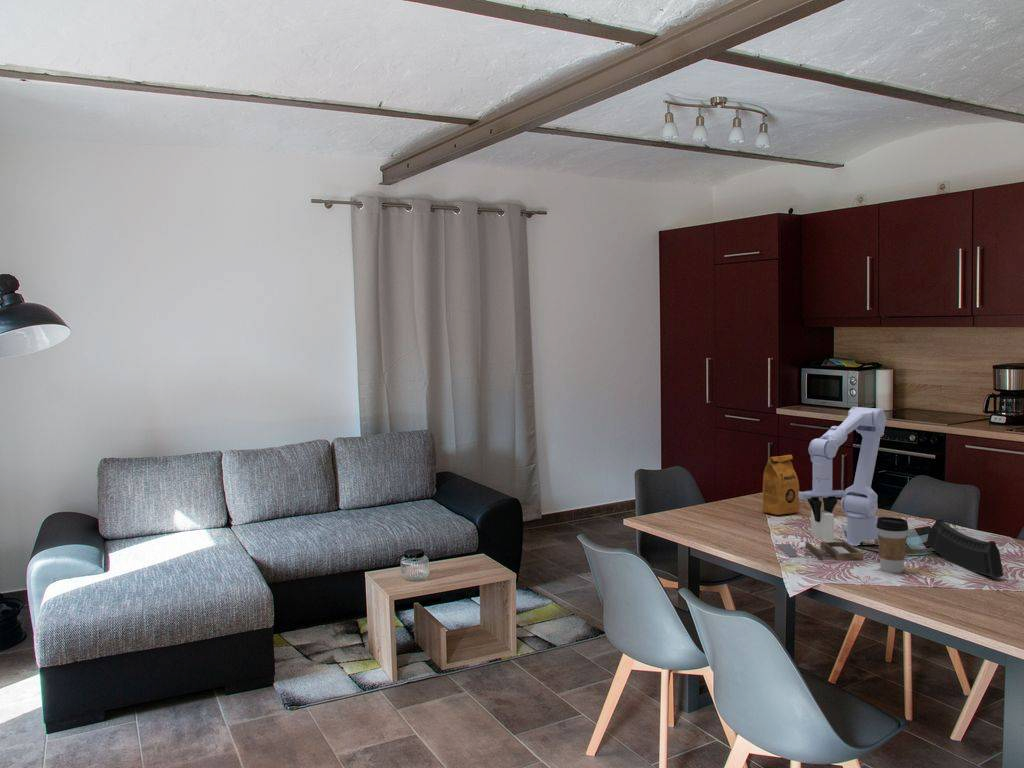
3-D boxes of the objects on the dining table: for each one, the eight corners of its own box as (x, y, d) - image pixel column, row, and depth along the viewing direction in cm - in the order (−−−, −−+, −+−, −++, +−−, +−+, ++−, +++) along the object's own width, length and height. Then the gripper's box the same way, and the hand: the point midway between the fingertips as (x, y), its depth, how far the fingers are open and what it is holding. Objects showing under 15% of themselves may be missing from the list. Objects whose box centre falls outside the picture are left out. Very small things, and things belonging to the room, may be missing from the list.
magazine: (1010, 551, 222) (945, 497, 250) (999, 552, 221) (935, 498, 249) (996, 604, 228) (934, 546, 256) (985, 605, 228) (924, 546, 256)
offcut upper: (842, 549, 258) (842, 546, 258) (850, 556, 251) (850, 552, 251) (831, 549, 258) (831, 546, 258) (839, 556, 251) (839, 552, 251)
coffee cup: (871, 565, 241) (871, 515, 240) (900, 565, 241) (900, 515, 240) (883, 574, 233) (883, 522, 232) (913, 574, 232) (913, 522, 231)
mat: (797, 544, 265) (797, 543, 265) (812, 557, 251) (812, 556, 251) (775, 545, 265) (775, 544, 265) (789, 557, 251) (789, 556, 251)
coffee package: (803, 514, 307) (803, 455, 305) (777, 517, 302) (777, 458, 300) (785, 508, 316) (785, 452, 314) (759, 512, 311) (759, 455, 309)
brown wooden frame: (845, 547, 261) (845, 541, 261) (863, 560, 247) (863, 553, 247) (804, 548, 261) (804, 542, 261) (820, 560, 247) (820, 554, 247)
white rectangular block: (818, 534, 259) (818, 507, 258) (833, 542, 249) (833, 514, 248) (811, 534, 258) (811, 507, 258) (826, 542, 249) (826, 514, 248)
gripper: (838, 474, 257) (838, 517, 258) (794, 476, 256) (793, 519, 257) (849, 478, 250) (849, 522, 251) (804, 480, 249) (804, 524, 250)
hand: (822, 521), depth 253 cm, fingers closed on white rectangular block, 2 cm apart
